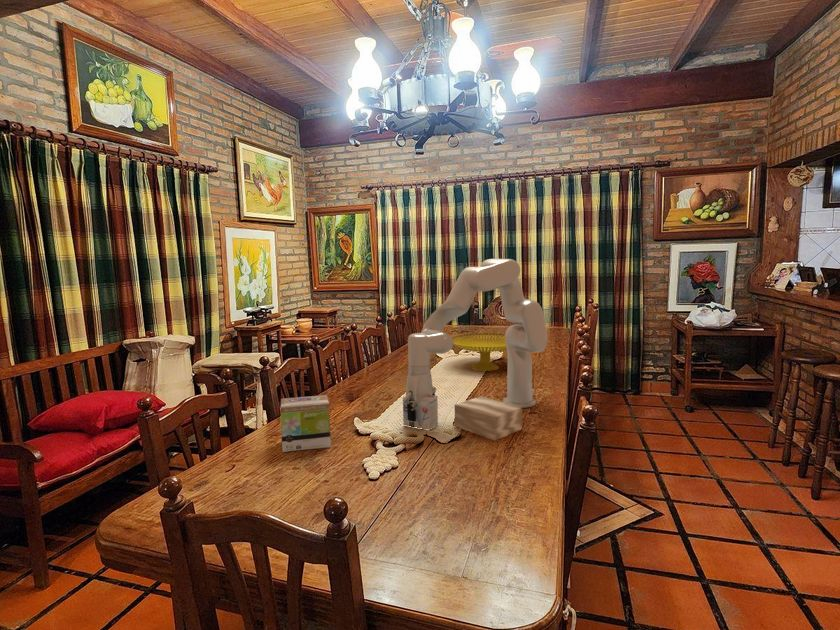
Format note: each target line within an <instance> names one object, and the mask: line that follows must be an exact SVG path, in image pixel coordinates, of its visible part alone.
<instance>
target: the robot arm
mask: <svg viewBox="0 0 840 630" xmlns="http://www.w3.org/2000/svg"><path fill="white" fill-rule="evenodd" d="M520 275H521V266H520V264H519V263H518V262H517V261H516V260H514V259H513V258H489V259H485V260H483V261H482V262H481V264H480V266H467V267H465V268H464V269H463V270H462V271H461V272H460V274H459V276H458V278H457V280H456V281H455V283H454V285H453V286H452V289H451V290H450V293H449V294H448V296H447V298H446V300H445V301H444V302H443V303H441V305H439V306H438V308H436V309H435V310H434V311H433V312H432V313H431V314H430V315H429V317H428V318H427V319H426V321H425V323H424V325H423V327H422V329H421V332H415V333H411V334H409V335H408V338H407V348H408V350H407V352H408V353H407V357H408V374H407V377H406V384H405V396H406V397H405V396H404V397H405V398H404V399H403V398H402V404H403V403H404V406H405V407H406V409H407V413H408V420H409V421H413V422H415V421H416V410H414V409H415V407H416V404H418V403H420V400H421V399H423V398H425V397H428V396H430V395H434V396H436V391H437V388H436V387H434V386H433V377H432V373H431V354H433V355H434V354H436V355H437V354H439V355H440V354H441V355H443V354H446V353H449V352H450V351H451V350H452V348H453V346H454V345H453V342H454V340H453V339H452V336H451V335H450V334H449V333H447V332H444V331H443V330H444V328H445V326H446V325H447V324H449V322H451V321H452V320H454V319H457V318H459V317H461V316H463V315H465V314H466V313H467V312H468V311H469V309H470V307H471V305H472V303H473V301H474V299H475V297H476V295H477V294H478V292H491V291H493V290H496V289H498V292H499V295H500V299H501V305H502V310H503V315H504V318H505V319H506V320H507V322H510V323H514V324H511V325H510V326H508V327H507V329H506V330H505V333H504V334H505V335H504V337H505V338H504V340H505V342H506V347H507V350H506V353H507V354H506V355H507V359H506V360H507V365H506V367H507V370H506V372H507V375H506V376H507V377H506V378H507V379H506V380H507V385H506V386H507V387H506V388H507V391H506V395H507V396H506V397H504V398H503V401H502V402H504V403H508V404H511V405H515V406H518V407H522V409H524V408H526V409H527V408H532V407H534V406H535V405H536V399H534V398H533V394H534V393H535V389H534V388H532V387H533V357H532V353H537V354H538V353H541V352H543V351H544V350H545V348H546V347H547V344H548V331H547V327H546V321H545V320H546V319H545V314H544V310H543V308H542V306H541V305H540V303H539V302H537V301H535V300H534V299H527V298H525V296H524V290H523V288H522V287H523V286H522V283H521V281H520V279H519V276H520ZM412 399H413V400H414V401H412ZM411 403H413V405H412V406H411Z"/></svg>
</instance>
